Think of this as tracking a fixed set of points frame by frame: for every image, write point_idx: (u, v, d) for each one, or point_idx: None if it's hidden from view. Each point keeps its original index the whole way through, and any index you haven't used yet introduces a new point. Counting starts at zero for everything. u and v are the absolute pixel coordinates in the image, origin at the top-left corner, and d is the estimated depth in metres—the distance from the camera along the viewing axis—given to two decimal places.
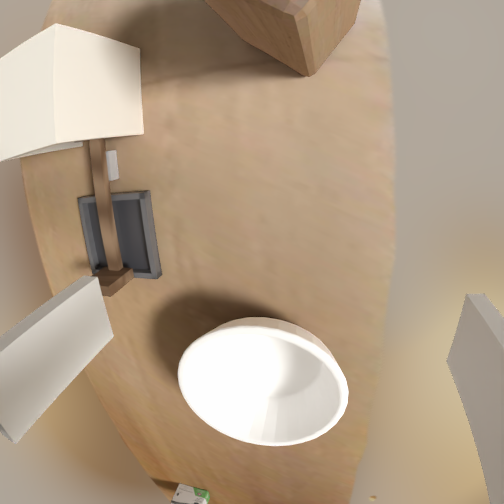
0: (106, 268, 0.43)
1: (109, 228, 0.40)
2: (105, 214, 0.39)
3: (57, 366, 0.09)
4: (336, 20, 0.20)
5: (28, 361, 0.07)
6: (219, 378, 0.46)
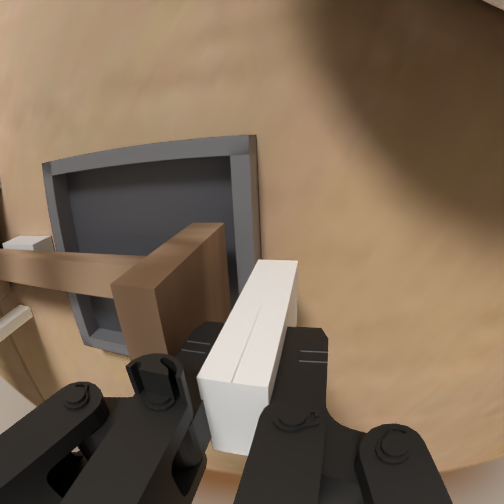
0: None
1: (77, 264, 0.14)
2: (54, 268, 0.15)
3: None
4: None
5: None
6: None
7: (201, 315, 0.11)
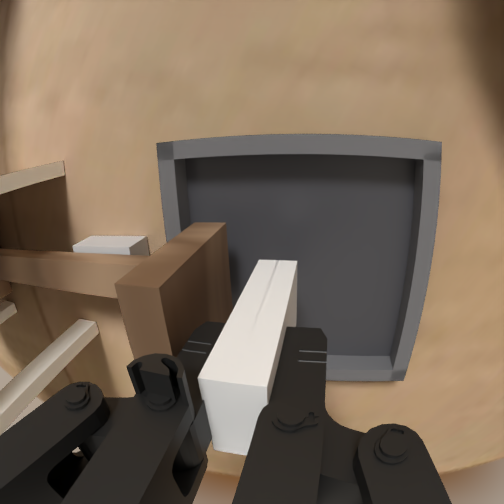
0: None
1: (78, 263, 0.14)
2: (55, 268, 0.15)
3: None
4: None
5: None
6: None
7: (204, 314, 0.11)
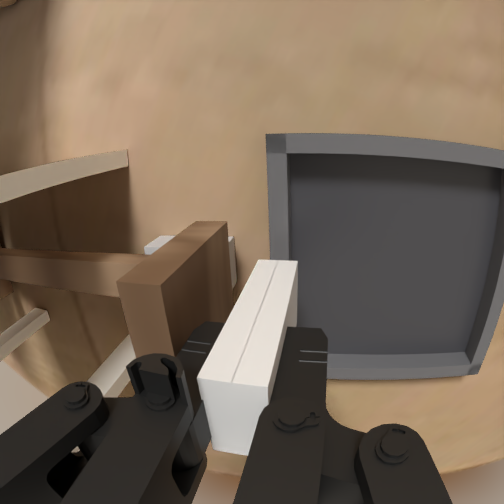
0: None
1: (80, 262, 0.14)
2: (57, 267, 0.15)
3: None
4: None
5: None
6: None
7: (205, 313, 0.11)
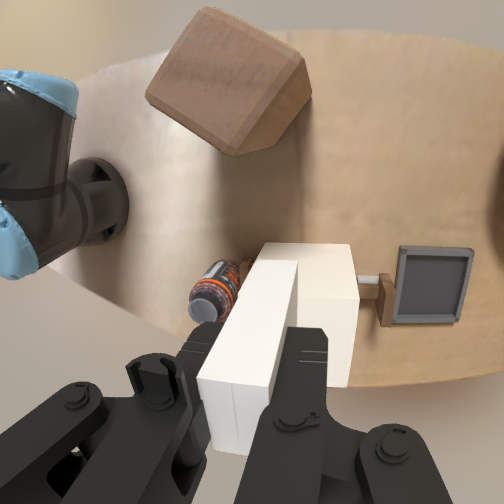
0: (376, 302, 0.43)
1: None
2: None
3: None
4: None
5: None
6: None
7: None
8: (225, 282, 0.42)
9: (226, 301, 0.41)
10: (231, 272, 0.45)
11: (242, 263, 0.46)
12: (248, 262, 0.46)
